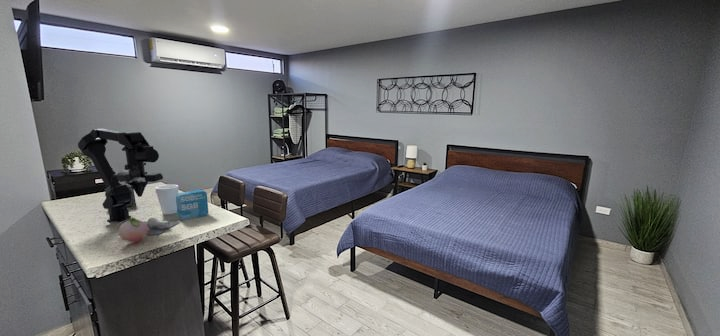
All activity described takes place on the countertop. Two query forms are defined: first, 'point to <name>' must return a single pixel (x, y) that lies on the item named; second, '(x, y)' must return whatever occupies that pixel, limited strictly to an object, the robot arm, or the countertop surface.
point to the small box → (133, 202)
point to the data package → (192, 204)
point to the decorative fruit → (133, 230)
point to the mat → (159, 229)
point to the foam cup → (167, 198)
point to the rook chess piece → (157, 223)
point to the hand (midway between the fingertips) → (140, 196)
